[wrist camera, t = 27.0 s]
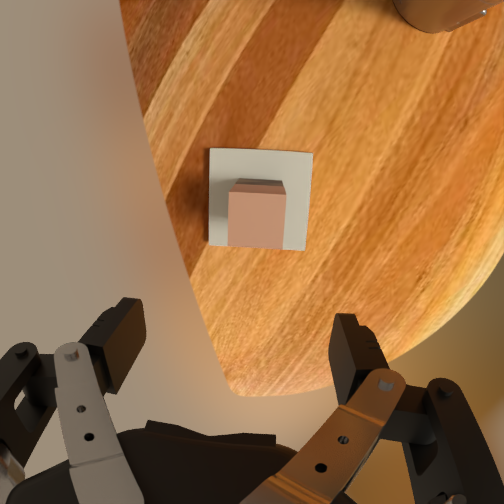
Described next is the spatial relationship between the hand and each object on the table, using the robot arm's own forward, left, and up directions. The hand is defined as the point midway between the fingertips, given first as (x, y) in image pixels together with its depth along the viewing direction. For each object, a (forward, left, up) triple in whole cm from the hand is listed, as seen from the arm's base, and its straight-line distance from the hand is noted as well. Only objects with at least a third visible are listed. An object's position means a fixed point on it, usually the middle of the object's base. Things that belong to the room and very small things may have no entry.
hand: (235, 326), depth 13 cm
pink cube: (0, 0, -22) cm, 22 cm away
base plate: (0, 0, -28) cm, 28 cm away
